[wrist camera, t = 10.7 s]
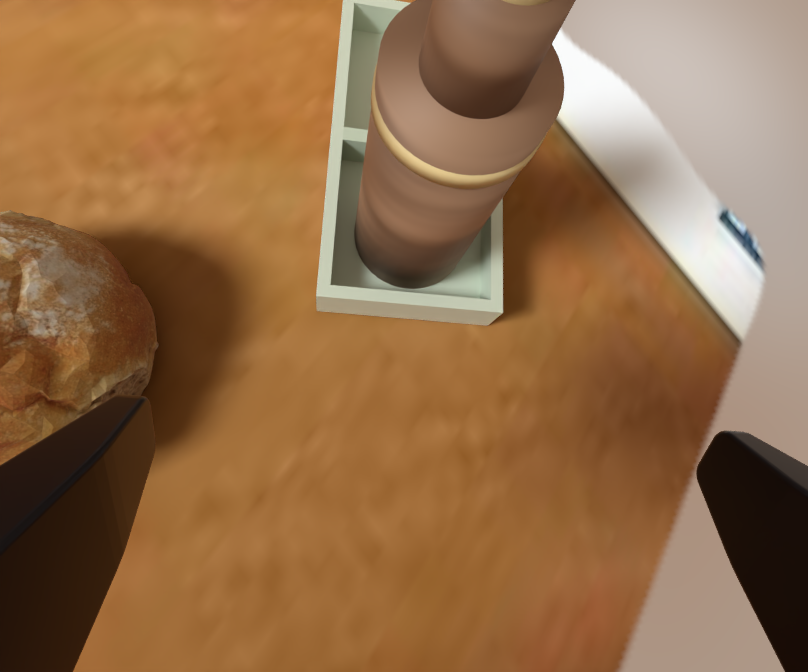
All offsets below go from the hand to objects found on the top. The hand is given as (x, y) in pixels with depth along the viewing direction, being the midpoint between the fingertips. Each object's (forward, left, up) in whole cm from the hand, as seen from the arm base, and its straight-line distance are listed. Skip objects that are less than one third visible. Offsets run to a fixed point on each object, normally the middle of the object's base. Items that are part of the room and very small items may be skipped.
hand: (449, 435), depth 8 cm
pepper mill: (+8, -5, -13) cm, 16 cm away
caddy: (+11, -7, -13) cm, 18 cm away
